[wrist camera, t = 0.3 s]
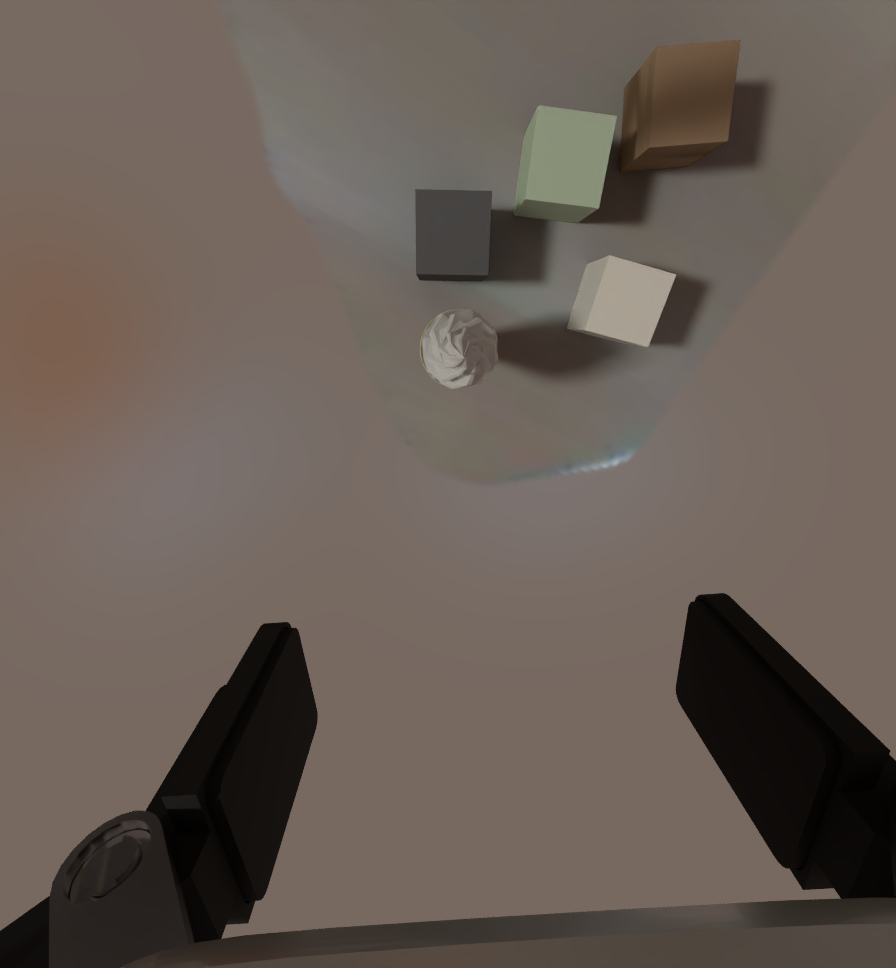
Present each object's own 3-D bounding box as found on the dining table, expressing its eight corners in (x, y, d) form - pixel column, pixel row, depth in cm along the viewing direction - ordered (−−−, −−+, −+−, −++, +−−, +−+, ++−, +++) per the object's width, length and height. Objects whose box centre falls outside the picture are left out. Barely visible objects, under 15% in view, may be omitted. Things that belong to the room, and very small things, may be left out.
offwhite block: (586, 264, 35) (609, 255, 30) (644, 280, 35) (676, 274, 30) (566, 328, 36) (584, 330, 32) (621, 343, 37) (648, 347, 32)
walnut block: (623, 88, 31) (656, 46, 26) (694, 82, 31) (740, 39, 26) (619, 172, 32) (649, 147, 28) (686, 167, 32) (727, 141, 28)
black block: (419, 207, 33) (415, 189, 28) (484, 209, 33) (491, 191, 28) (419, 280, 35) (416, 274, 30) (481, 281, 35) (488, 275, 30)
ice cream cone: (496, 340, 36) (532, 353, 22) (456, 386, 38) (465, 426, 24) (452, 297, 35) (459, 282, 21) (411, 346, 36) (394, 362, 22)
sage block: (523, 136, 32) (538, 105, 27) (590, 145, 32) (616, 116, 27) (513, 215, 33) (525, 199, 29) (576, 223, 34) (599, 208, 29)
